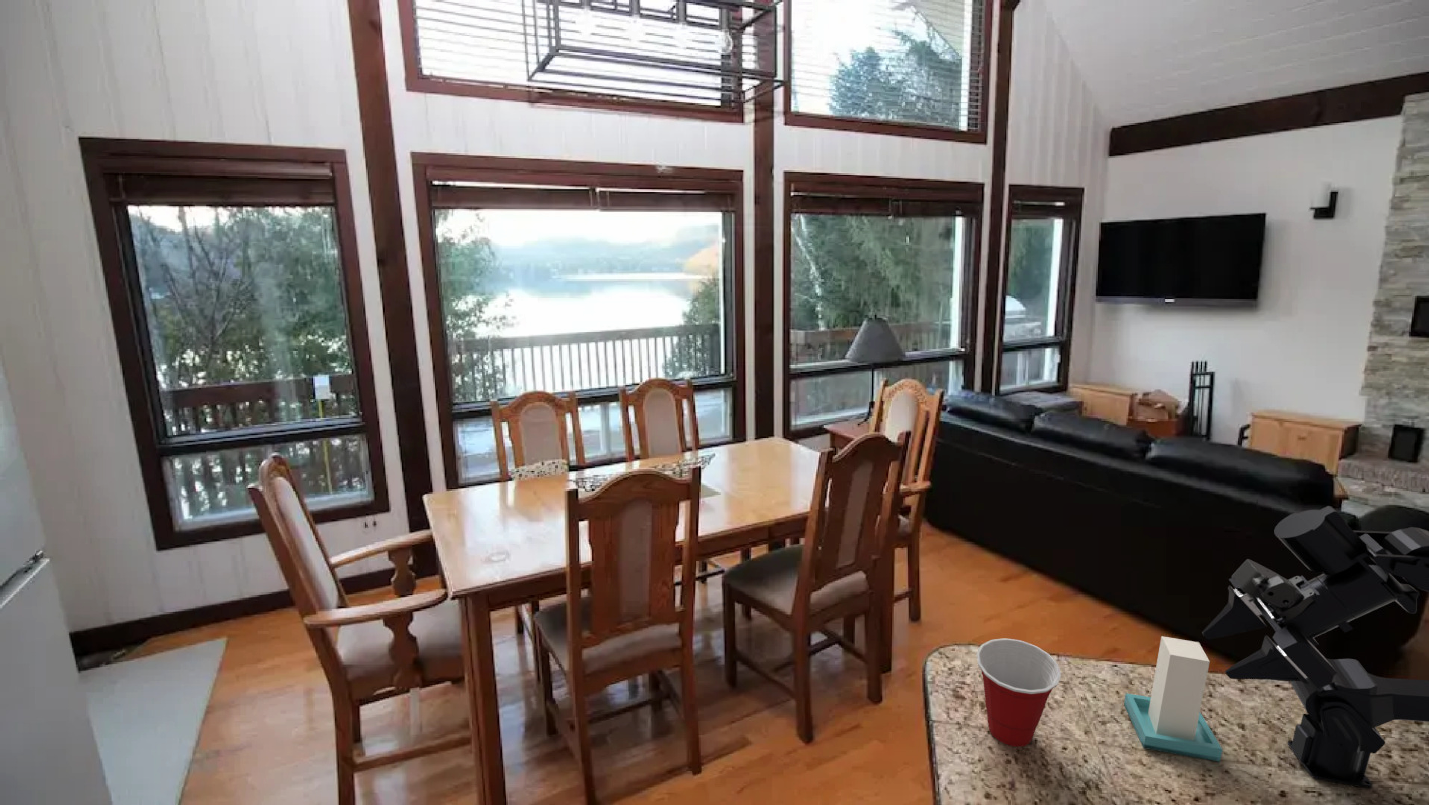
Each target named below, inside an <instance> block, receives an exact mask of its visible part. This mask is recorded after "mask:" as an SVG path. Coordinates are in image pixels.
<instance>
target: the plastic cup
mask: <svg viewBox="0 0 1429 805" xmlns="http://www.w3.org/2000/svg"><path fill="white" fill-rule="evenodd" d="M975 655H976V659H977V660H976V661H977V666H978V668H979V669H980V671H981V675H982V681H983V691H984V702H985V709H986V715H987V716H986V717H987V725H988V728H989V732H990V733H991V735H992V737H993V738H995V739H997V741H998V742H1001V743H1003V744H1005V745H1007V746H1010V747H1014V748H1015V747H1016V748H1018V747H1019V748H1021V747H1026V746H1027V745H1029V744H1030V742H1032V740H1033V738H1034V735H1035V733H1036V729H1037V727H1038V725H1039V723H1040V720H1041V719H1042V718H1041V717H1042V715H1043V713H1044V709H1045V707H1046V704H1047V701H1048V699H1049V696H1050V694H1051V693H1052V691H1053V689H1054V688H1056V687H1057V686H1058V685H1059V683H1060V679H1061V677H1062V672H1061V668H1060V665H1059V664H1058V662H1057V661H1056V660H1055V659H1054V658H1053V657H1052V656H1051V655H1050V653H1049V652H1046V651H1045V650H1043V649H1042V648H1040V647H1039V646H1037V645H1034V644H1032V643H1030V642H1027V641H1023V640H1020V639H1013V638H1004V637H1003V638H996V639H995V638H994V639H990V640H989V641H986V642H984V643H983V644H981V645H980V646H979V648H978V649H977V652H976V654H975Z"/></svg>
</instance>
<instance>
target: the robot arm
mask: <svg viewBox="0 0 1429 805" xmlns="http://www.w3.org/2000/svg"><path fill="white" fill-rule="evenodd" d="M1273 532H1274V535H1275V537H1276V538H1278V540H1279V541H1281V543H1282V544H1284V546H1285V547H1286V548H1287V549H1288V550H1289V551H1291V553H1292V554H1293V555H1294V556H1295V557H1296V558H1297V559H1298V560H1299V561H1300V562H1301V563H1302V564H1303V565H1304V566H1305V567H1306V568H1307V569H1308V570H1309V571H1311V572H1315V573H1322V574H1320V575H1318V576H1316V577H1313V578H1312V579H1310V580H1307V579H1306V578H1305V577H1304V576H1303V575H1301V576H1300V575H1296V576H1293V577H1291V578H1289V579H1287V578H1285V577H1284V576H1281V575H1280V574H1278V573H1277V572H1275V571H1273V570H1271V569H1269V568H1267V567H1266V566H1263V565H1262V564H1259V563H1258V562H1255V561H1253V560H1251V559H1249V558H1247V559H1246V560H1245V561H1244V562H1243V563H1242V564H1241V565H1240V566H1239V567H1238V568H1237V569H1236V571H1235V572H1234V573H1233V574H1232V575H1231V578H1228V580H1229V582H1230V583H1231V584H1232V586H1233V587H1234V588H1233V587H1232V586H1231V585H1228V587H1227V590H1228V602H1227V604H1226V605H1225V606H1224V608H1223V609H1222V610H1221V611H1220V612H1219V613H1218V614H1217V615H1216V617H1215V618H1214V619H1213V620H1211V622H1210V623H1209V624H1208V625H1207V626H1206V627H1205V628H1204V629H1203V631H1201V633H1202V636H1203V637H1205V639H1206V640H1212V639H1219V638H1223V637H1227V636H1232V635H1237V634H1241V633H1245V632H1249V631H1253V630H1259V629H1262V628H1267V624H1266V623H1265V622H1264V620H1263V619H1265V621H1266V622H1268V623H1269V624H1270V626H1271V627H1272V629H1273V630H1274V631H1275V633H1274V634H1273V636H1272V638H1270V637H1269V636H1268V635H1267V634H1266V635H1264V638H1263V642H1262V645H1261V648H1260V649H1259V650H1257V651H1255V652H1253V653H1252V654H1250V655H1249V656H1247V657H1245V658H1243V659H1241V660H1240V661H1238V662H1236V663H1235V664H1233V665H1231V666H1230V667H1229V668H1227V669H1225V671H1224V673H1225V674H1226V676H1227V677H1228V678H1229V679H1231V680H1267V681H1268V680H1269V681H1270V680H1273V681H1287V682H1290V685H1291V687H1292V688H1293V691H1294V692H1295V694H1296V695H1297V697H1298V699H1299V701H1300V702H1301V704H1302V706H1303V708H1304V709H1305V711H1306V713H1303V714H1302V716H1301V721H1300V723H1297V724H1296V726H1295V729H1294V733H1293V738H1292V740H1288V741H1287V746H1288V747H1289V748H1290V750H1291V751H1292V753H1293V754H1294V755H1295V756H1296V758H1297V759H1298V761H1300V763H1301V765H1302V766H1303V768H1304V769H1305V770H1306V771H1307V773H1308V774H1309V775H1310V776H1311V777H1312V778H1313V779H1317V780H1322V781H1327V782H1331V783H1340V784H1342V785H1343V784H1345V785H1348V786H1349V785H1350V786H1355V787H1360V788H1367V789H1372V788H1373V785H1374V784H1373V782H1372V781H1371V780H1370V779H1369V777H1367V776H1366V772H1367V769H1368V765H1369V761H1370V758H1371V754H1376V753H1378V752H1379V751H1380V749H1381V748H1383V747H1384V746H1385V745H1386V741H1385V740H1384V738H1383V736H1382V735H1381V734H1380V732H1379V731H1378V729H1377V727H1380V726H1382V725H1385V724H1387V723H1390V722H1392V721H1411V722H1412V721H1413V722H1424V723H1425V722H1426V723H1429V680H1425V679H1413V678H1411V679H1409V678H1391V677H1381V676H1378V675H1374V674H1373V673H1370V672H1367V671H1366V669H1365V668H1364V667H1363V665H1362V663H1360V661H1359V660H1357V659H1353V658H1338V659H1332V658H1331V659H1330V658H1326V657H1325V656H1324V655H1323V654H1322V653H1321V652H1320V651H1319V649H1317V646H1319V645H1320V644H1319V642H1317V640H1316V639H1315V638H1316V637H1318V636H1321V635H1322V634H1323V635H1324V634H1326V633H1327V632H1329V631H1332V630H1333V629H1335V628H1338V627H1339V629H1340V630H1342V631H1343V633H1345V634H1346V633H1349V632H1350V631H1352V630H1354V628H1353V626H1352V625H1350V624H1349V623H1350V622H1351V621H1353V620H1355V619H1358V618H1360V617H1362V616H1365V615H1366V614H1369V613H1371V612H1373V611H1375V610H1378V609H1379V608H1382V607H1385V606H1386V605H1389V604H1390V603H1392V602H1393V603H1394V602H1396V603H1397V604H1398V606H1401V608H1402V609H1403V610H1405V611H1406V612H1407V613H1408V614H1413V615H1414V614H1416V613H1417V610H1418V609H1417V608H1418V607H1417V606H1418V601H1417V600H1418V597H1419V596H1420V592H1419V591H1418V590H1421V591H1423V592H1427V593H1429V531H1428V530H1427V529H1422V528H1420V527H1416V526H1415V527H1413V526H1410V527H1408V528H1407V527H1406V528H1399V529H1397V530H1394V531H1376V530H1375V531H1374V530H1372V531H1371V530H1353V529H1352V528H1351V527H1350V526H1349V525H1348V524H1347V523H1346V521H1345V519H1344V517H1343V516H1342V515H1341V514H1340V513H1338V511H1337V510H1336V509H1334V508H1333V506H1331V505H1327V506H1325V507H1323V508H1321V509H1309V510H1304V511H1300V512H1293V513H1291V514H1289V515H1288V516H1285V517H1284V518H1283V519H1281V520H1280V521H1279V522H1277V525H1276V526H1275V527H1274V531H1273ZM1368 557H1369V558H1370V559H1371V560H1372V561H1373V562H1374V563H1375V564H1369V563H1367V561H1365V560H1364V558H1368ZM1394 576H1397V577H1400V578H1402V579H1403V580H1404V581H1406V582H1407V584H1406V583H1405V584H1404V583H1400V582H1399V581H1398V580H1397V579H1396V578H1395V577H1394ZM1415 588H1416V589H1418V590H1416V589H1415ZM1260 616H1262V617H1263V619H1262V618H1261V617H1260ZM1272 639H1273V640H1272Z"/></svg>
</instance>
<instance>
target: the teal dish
mask: <svg viewBox="0 0 1429 805" xmlns="http://www.w3.org/2000/svg"><path fill="white" fill-rule="evenodd" d="M1150 700H1151V696H1146V695H1139V694H1134V693H1127V692H1126V693H1125V695H1124V702H1123V706H1124V708H1125V710H1126V713H1127V715H1128V718H1129V720H1130V721H1131V724H1132V726H1133V728H1134V730H1135V732H1136V734H1137V736H1138V739H1139V741H1140V744H1141V746H1142V748H1143V749H1146V750H1151V751H1152V750H1153V751H1159V752H1164V753H1169V754H1175V755H1180V756H1185V757H1191V758H1197V759H1203V760H1207V761H1208V760H1209V761H1213V762H1218V763H1219V762H1221V759H1222V754H1223V748H1222V746H1221V744H1220V743H1219V741H1218V738H1216V736H1215V734H1214V732H1213V731H1212V729H1211V728H1210V726H1209V724H1208V723H1207V721H1206V719H1205V718H1204V716H1203V715H1202V713H1201V712H1200V713H1199V719H1198V724H1197V729H1196V734H1195V739H1194V741H1193V740H1187V739H1182V738H1176V737H1170V736H1164V735H1158V734H1156V733H1155V730H1154V728H1153V725H1152V722H1151V720H1150V717H1149V714H1148V711H1149V705H1150Z"/></svg>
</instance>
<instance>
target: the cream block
mask: <svg viewBox="0 0 1429 805" xmlns="http://www.w3.org/2000/svg"><path fill="white" fill-rule="evenodd" d="M1210 662H1211V661H1210V660H1209V658H1208V656H1207V654H1206V653H1205V651H1204V649H1203V647H1202V646H1201V643H1200V642H1199V641H1192V640H1187V639H1186V640H1185V639H1180V638H1174V637H1168V636H1161V637H1160V642H1159V649H1158V655H1157V660H1156V666H1155V671H1154V678H1153V682H1152V683H1153V684H1152V687H1151V688H1152V689H1151V695H1150V697H1151V700H1150V705H1149V711H1148V714H1149V717H1150V720H1151V722H1152V725H1153V728H1154V730H1155V733H1156V734H1158V735H1164V736H1170V737H1176V738H1182V739H1187V740H1193V741H1194V739H1195V734H1196V729H1197V724H1198V719H1199V713H1201V707H1202V702H1203V698H1204V692H1205V687H1206V681H1207V677H1208V672H1209V667H1210Z"/></svg>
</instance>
